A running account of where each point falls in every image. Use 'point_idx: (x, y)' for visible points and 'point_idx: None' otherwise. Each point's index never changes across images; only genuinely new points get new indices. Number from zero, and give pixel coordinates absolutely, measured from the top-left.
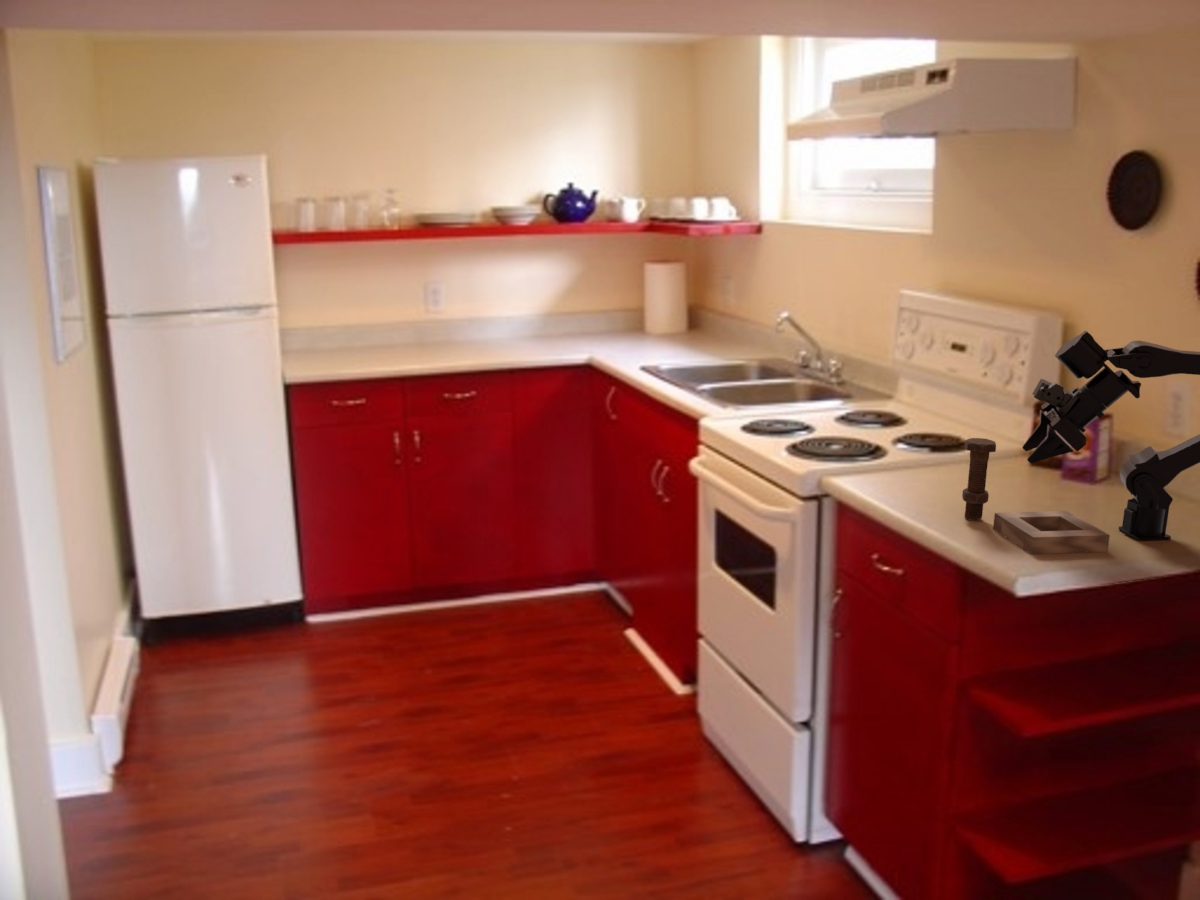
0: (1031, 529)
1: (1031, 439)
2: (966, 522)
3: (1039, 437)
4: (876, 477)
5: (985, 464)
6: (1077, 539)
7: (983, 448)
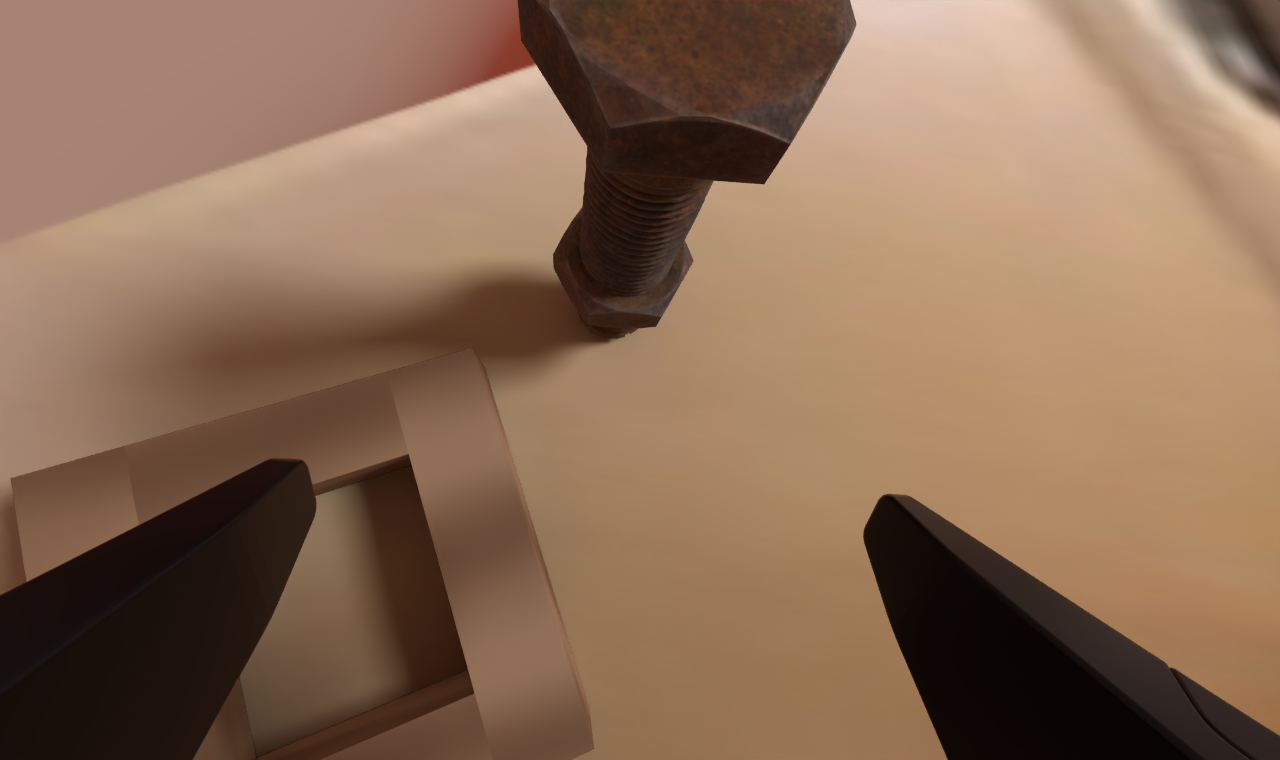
0: (175, 490)
1: (975, 610)
2: (554, 273)
3: (1037, 751)
4: (1038, 61)
5: (607, 184)
6: None
7: (520, 4)
